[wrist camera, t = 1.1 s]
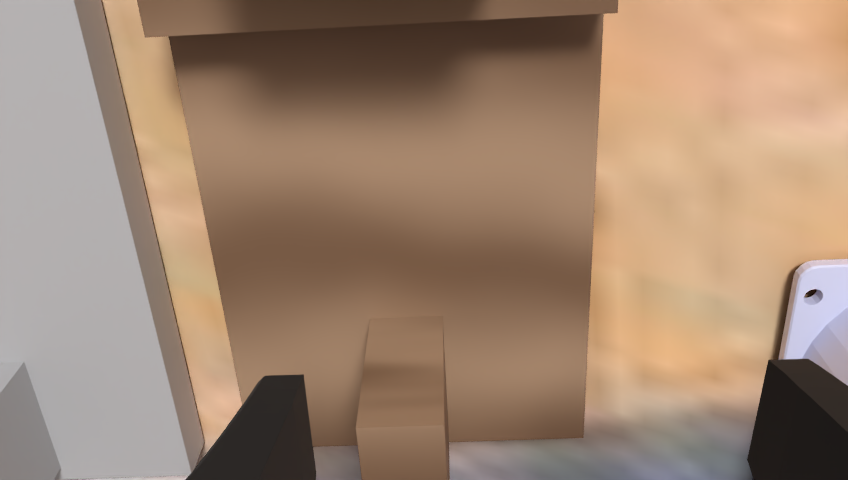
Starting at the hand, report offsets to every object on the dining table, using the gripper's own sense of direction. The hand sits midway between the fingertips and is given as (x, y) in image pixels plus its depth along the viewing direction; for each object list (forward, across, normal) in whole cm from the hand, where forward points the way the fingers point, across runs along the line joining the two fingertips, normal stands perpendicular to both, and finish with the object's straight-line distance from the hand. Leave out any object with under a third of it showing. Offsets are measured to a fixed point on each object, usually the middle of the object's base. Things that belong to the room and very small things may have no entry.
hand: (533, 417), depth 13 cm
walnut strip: (+10, +2, -4) cm, 11 cm away
